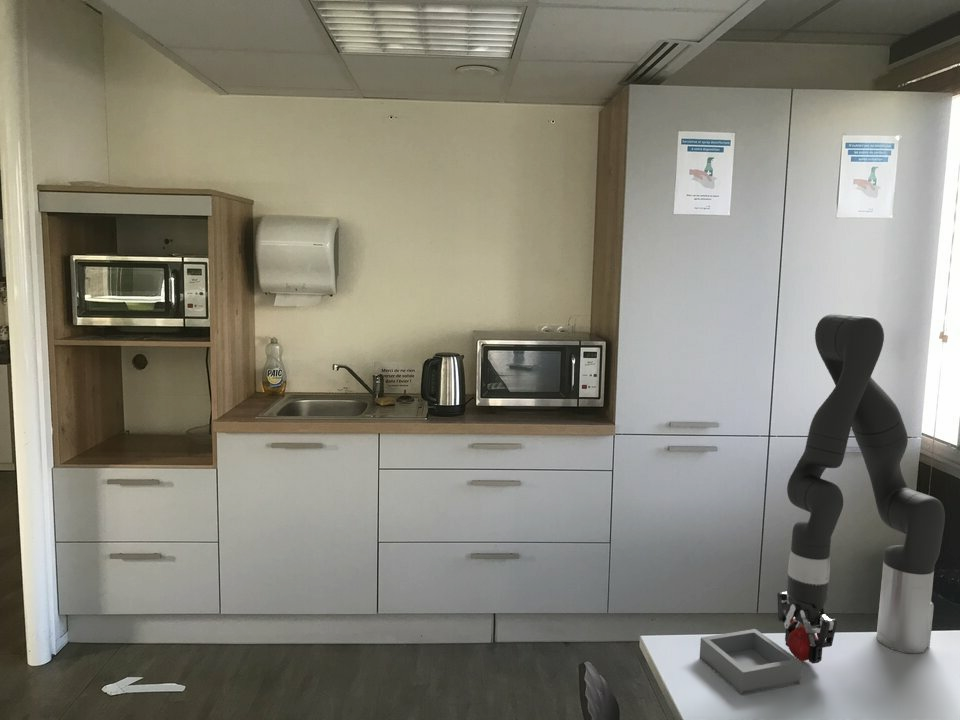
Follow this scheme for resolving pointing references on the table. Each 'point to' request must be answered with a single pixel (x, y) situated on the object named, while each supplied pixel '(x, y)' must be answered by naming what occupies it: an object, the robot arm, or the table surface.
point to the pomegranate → (799, 643)
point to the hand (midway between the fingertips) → (802, 653)
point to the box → (750, 661)
